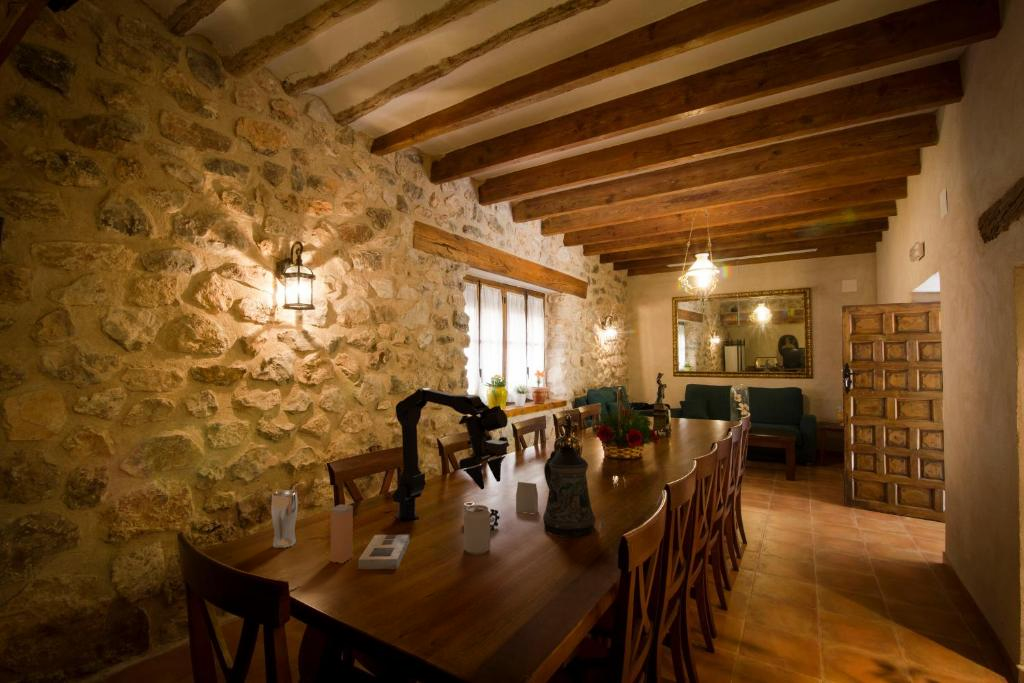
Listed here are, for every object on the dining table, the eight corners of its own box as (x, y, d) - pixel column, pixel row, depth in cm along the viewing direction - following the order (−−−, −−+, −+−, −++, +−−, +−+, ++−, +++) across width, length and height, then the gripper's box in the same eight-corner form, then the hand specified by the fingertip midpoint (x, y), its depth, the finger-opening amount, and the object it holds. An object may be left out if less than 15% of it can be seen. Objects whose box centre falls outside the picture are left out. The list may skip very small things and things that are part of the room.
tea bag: (534, 514, 166) (534, 485, 166) (516, 511, 169) (516, 483, 169) (537, 511, 170) (537, 482, 170) (520, 508, 172) (520, 480, 172)
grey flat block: (374, 543, 141) (374, 534, 141) (409, 543, 142) (409, 534, 142) (358, 569, 125) (358, 559, 125) (397, 568, 125) (397, 558, 125)
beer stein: (582, 542, 142) (582, 457, 142) (525, 529, 152) (525, 450, 153) (603, 525, 156) (602, 447, 156) (549, 514, 166) (549, 441, 167)
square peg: (340, 555, 133) (340, 504, 134) (352, 557, 132) (352, 505, 132) (330, 561, 129) (330, 509, 130) (342, 563, 128) (343, 510, 128)
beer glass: (302, 541, 143) (303, 490, 143) (284, 551, 136) (285, 497, 136) (284, 538, 145) (284, 488, 145) (265, 547, 138) (265, 495, 139)
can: (469, 558, 131) (469, 513, 132) (459, 548, 138) (459, 505, 138) (494, 552, 135) (494, 509, 135) (483, 543, 142) (483, 502, 142)
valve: (457, 525, 156) (487, 533, 149) (457, 505, 156) (487, 512, 149) (470, 519, 161) (499, 527, 154) (470, 500, 161) (499, 506, 154)
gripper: (482, 433, 138) (496, 488, 135) (514, 424, 154) (527, 473, 151) (452, 442, 143) (465, 495, 140) (486, 432, 159) (498, 479, 156)
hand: (490, 485), depth 147 cm, fingers open, 9 cm apart
